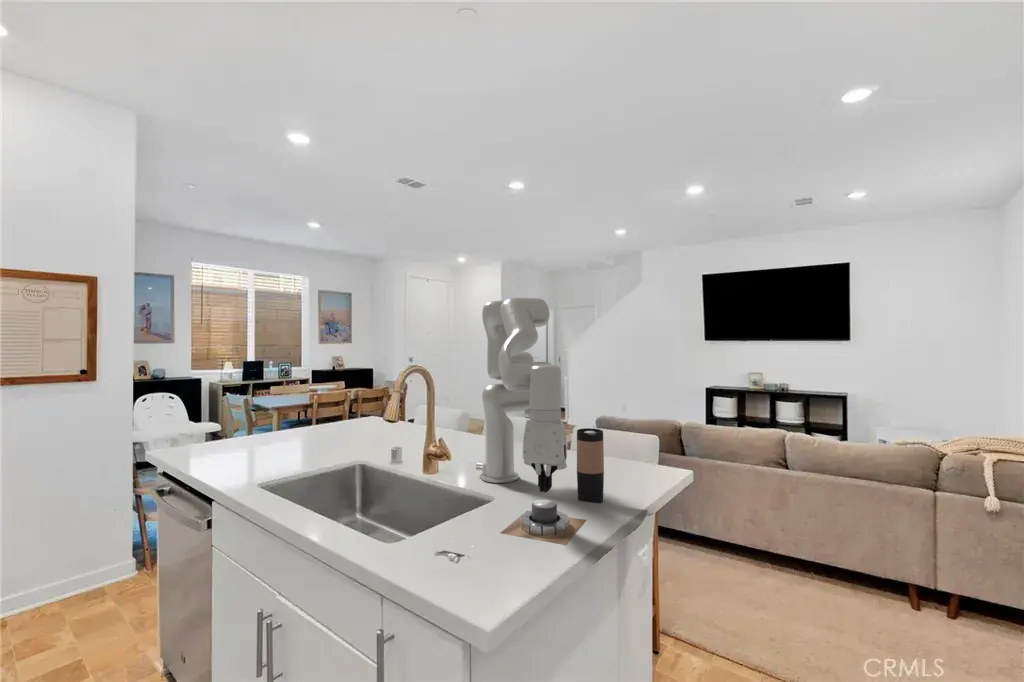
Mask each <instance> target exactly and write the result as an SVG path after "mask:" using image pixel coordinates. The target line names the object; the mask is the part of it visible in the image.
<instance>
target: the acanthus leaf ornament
mask: <svg viewBox="0 0 1024 682" xmlns="http://www.w3.org/2000/svg"><path fill="white" fill-rule="evenodd" d="M453 542H454V540H452V543H453ZM473 547H474V545H471V548H473ZM433 555H434V556H435V557H439V556H443V557H446V558H447V559H448V560H449V561H452V562H453V563H454V564H458V563H459V562H460V558H463V557H465V556H466V554H462V553H457V552H453V551H449V550H442V551H436V552H435V553H434V554H433Z"/></svg>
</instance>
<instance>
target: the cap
mask: <svg viewBox="0 0 1024 682" xmlns="http://www.w3.org/2000/svg"><path fill="white" fill-rule="evenodd" d="M531 511H532V521H533V522H535V523H541V524H552V523H555V522H557V511H558V504H557V503H556V502H554V501H552V500H549V499H536V500H535V501H534V502H532V503H531Z"/></svg>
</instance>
